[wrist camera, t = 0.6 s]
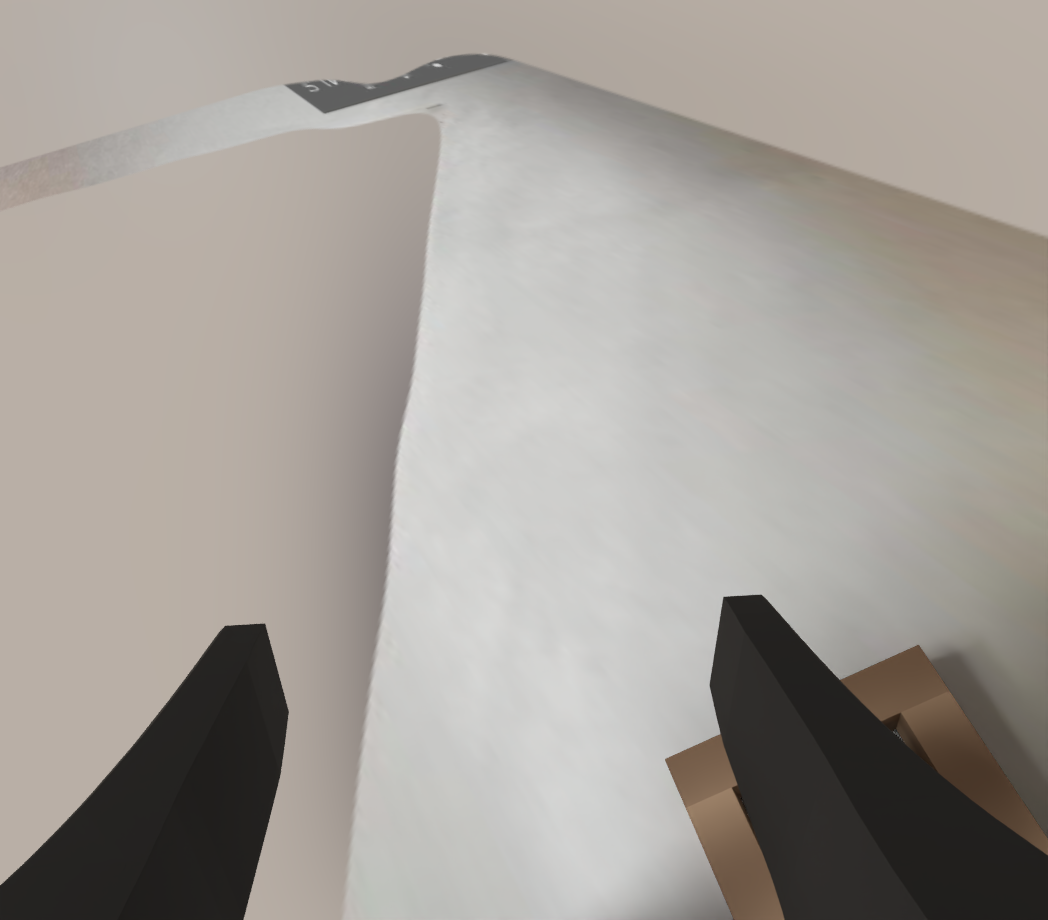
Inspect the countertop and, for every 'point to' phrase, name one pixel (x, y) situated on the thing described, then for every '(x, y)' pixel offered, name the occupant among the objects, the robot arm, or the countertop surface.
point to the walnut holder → (899, 703)
